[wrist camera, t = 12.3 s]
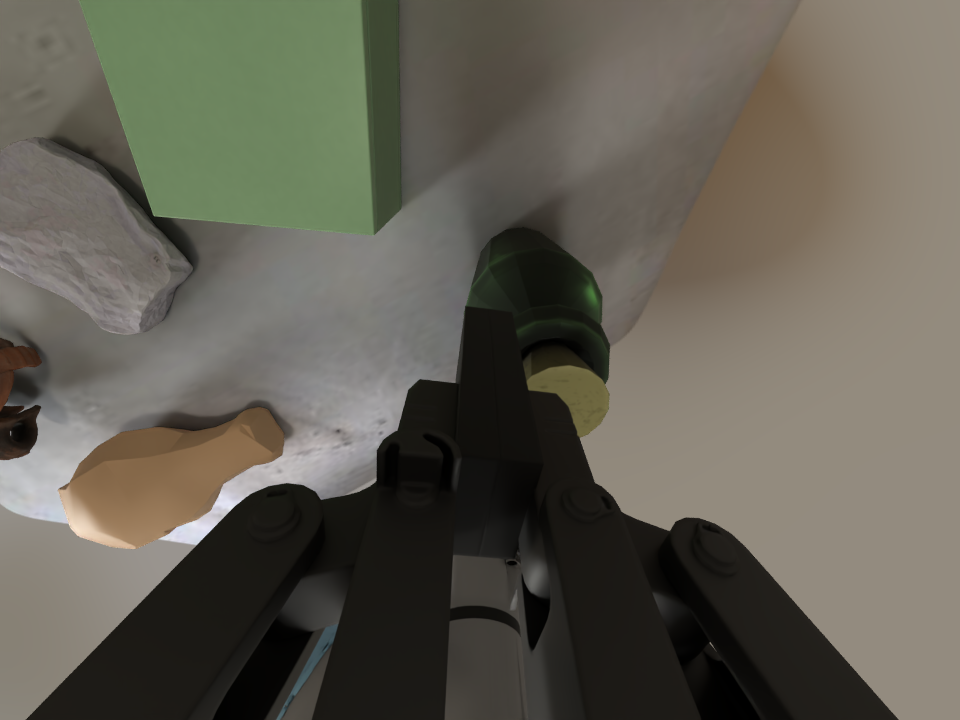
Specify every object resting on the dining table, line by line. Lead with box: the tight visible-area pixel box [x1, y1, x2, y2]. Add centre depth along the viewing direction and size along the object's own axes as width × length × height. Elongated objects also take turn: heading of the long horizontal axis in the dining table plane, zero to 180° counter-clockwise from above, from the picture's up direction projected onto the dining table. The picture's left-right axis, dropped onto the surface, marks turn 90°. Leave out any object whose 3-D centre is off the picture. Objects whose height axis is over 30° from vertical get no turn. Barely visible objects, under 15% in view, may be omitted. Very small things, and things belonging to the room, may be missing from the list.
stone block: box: [0, 137, 193, 335], centre depth 28 cm, size 12×5×10 cm
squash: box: [58, 407, 284, 549], centre depth 36 cm, size 11×20×9 cm, turn 115°
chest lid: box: [79, 0, 377, 236], centre depth 17 cm, size 15×12×1 cm
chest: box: [366, 0, 401, 232], centre depth 21 cm, size 15×12×8 cm
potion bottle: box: [464, 227, 610, 438], centre depth 23 cm, size 8×8×18 cm
